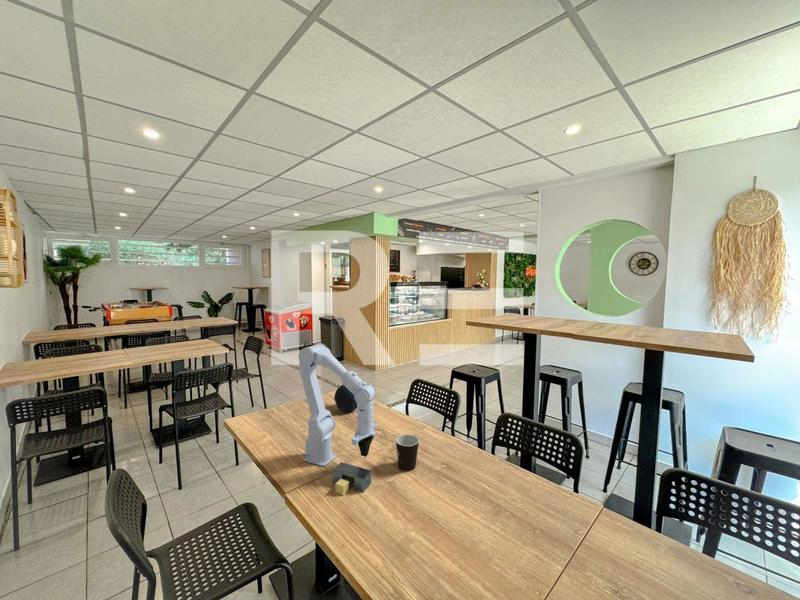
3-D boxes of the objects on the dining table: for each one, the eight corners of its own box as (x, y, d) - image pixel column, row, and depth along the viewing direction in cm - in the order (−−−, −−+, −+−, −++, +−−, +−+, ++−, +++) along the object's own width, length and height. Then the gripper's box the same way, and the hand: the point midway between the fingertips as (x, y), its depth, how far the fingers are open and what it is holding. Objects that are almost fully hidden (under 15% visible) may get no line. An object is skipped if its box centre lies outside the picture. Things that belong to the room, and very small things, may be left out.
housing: (332, 482, 110) (332, 469, 110) (341, 474, 114) (341, 462, 114) (363, 492, 105) (363, 478, 105) (371, 483, 110) (371, 470, 109)
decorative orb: (351, 391, 183) (340, 374, 174) (371, 397, 174) (360, 380, 166) (336, 413, 174) (323, 396, 166) (357, 420, 165) (344, 403, 157)
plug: (355, 473, 115) (355, 465, 115) (363, 476, 114) (363, 468, 113) (335, 492, 105) (335, 483, 105) (343, 495, 103) (343, 486, 103)
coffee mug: (416, 474, 115) (417, 447, 114) (393, 471, 117) (393, 444, 116) (421, 457, 126) (421, 432, 126) (399, 454, 128) (399, 429, 128)
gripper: (364, 429, 108) (363, 468, 109) (383, 413, 121) (383, 448, 122) (346, 425, 111) (346, 463, 112) (367, 410, 124) (366, 444, 125)
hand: (364, 455), depth 117 cm, fingers closed
